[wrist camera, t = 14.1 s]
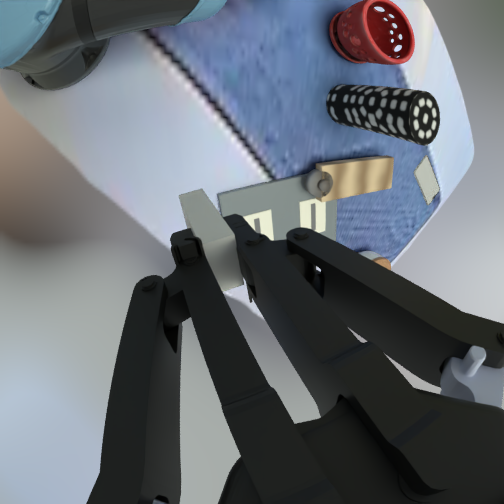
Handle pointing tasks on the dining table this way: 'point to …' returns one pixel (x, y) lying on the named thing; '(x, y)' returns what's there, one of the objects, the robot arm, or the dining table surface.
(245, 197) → the label panel
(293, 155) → the dining table surface
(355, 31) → the plant pot
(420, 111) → the spotted tube
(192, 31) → the dining table surface
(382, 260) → the lidded jar
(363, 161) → the swing arm
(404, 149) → the dining table surface
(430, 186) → the smartphone
